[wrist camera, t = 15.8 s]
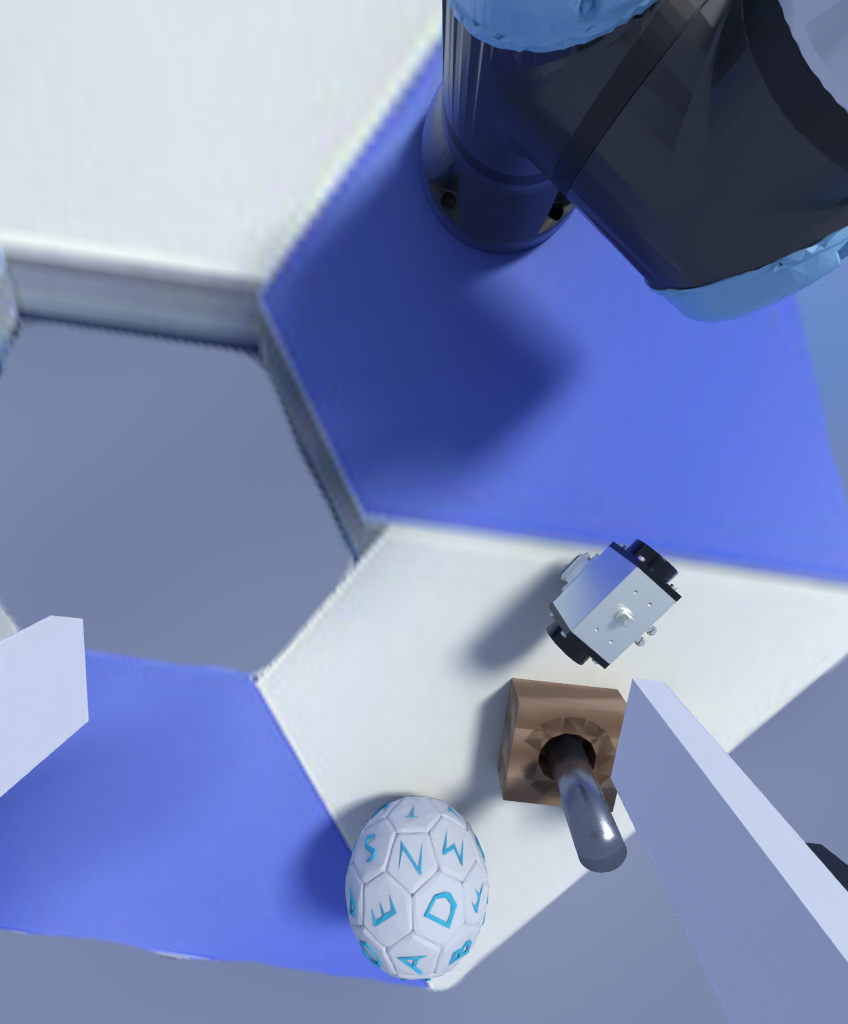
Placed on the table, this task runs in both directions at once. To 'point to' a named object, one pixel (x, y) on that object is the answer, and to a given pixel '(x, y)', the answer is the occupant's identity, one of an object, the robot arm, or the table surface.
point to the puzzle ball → (416, 888)
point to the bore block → (547, 715)
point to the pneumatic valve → (611, 602)
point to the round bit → (584, 805)
